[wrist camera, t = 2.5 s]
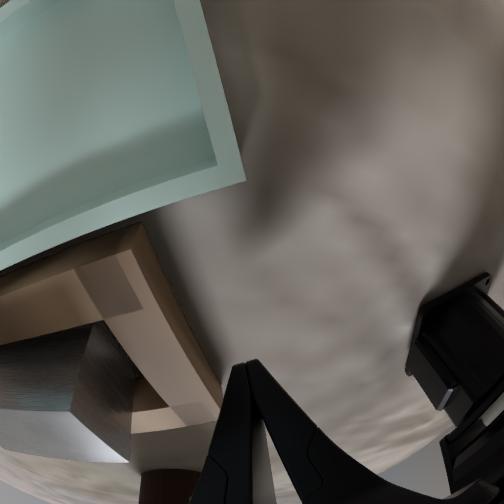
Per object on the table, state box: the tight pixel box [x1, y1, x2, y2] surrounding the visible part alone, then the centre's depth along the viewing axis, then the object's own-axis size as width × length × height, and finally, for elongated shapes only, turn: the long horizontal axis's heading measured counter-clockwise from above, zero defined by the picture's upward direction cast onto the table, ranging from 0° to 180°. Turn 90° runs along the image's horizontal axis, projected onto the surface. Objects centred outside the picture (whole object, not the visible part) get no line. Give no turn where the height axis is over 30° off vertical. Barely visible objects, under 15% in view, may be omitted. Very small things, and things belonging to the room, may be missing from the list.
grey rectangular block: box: [0, 320, 136, 462], centre depth 9 cm, size 8×4×5 cm, turn 99°
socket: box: [0, 222, 223, 434], centre depth 10 cm, size 12×9×2 cm
